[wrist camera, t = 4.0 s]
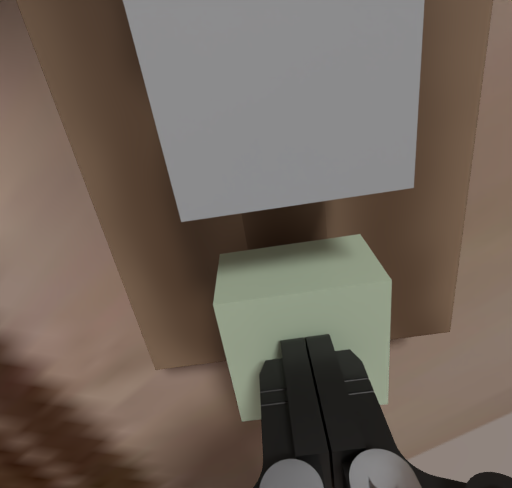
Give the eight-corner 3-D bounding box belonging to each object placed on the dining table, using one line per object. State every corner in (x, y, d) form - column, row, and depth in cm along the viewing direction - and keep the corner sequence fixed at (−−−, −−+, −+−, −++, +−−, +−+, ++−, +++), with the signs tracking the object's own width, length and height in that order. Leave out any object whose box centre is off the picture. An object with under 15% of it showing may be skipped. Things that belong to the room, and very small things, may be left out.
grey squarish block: (340, -37, 10) (432, -136, 5) (345, 138, 13) (413, 188, 7) (172, -7, 11) (102, -75, 5) (206, 159, 13) (181, 221, 8)
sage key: (341, 206, 15) (392, 280, 10) (345, 303, 17) (387, 403, 12) (223, 223, 15) (212, 304, 10) (242, 316, 17) (242, 421, 12)
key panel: (486, -537, 8) (600, -821, 6) (421, 294, 19) (450, 331, 16) (-77, -406, 9) (-214, -609, 6) (167, 328, 20) (155, 370, 17)
